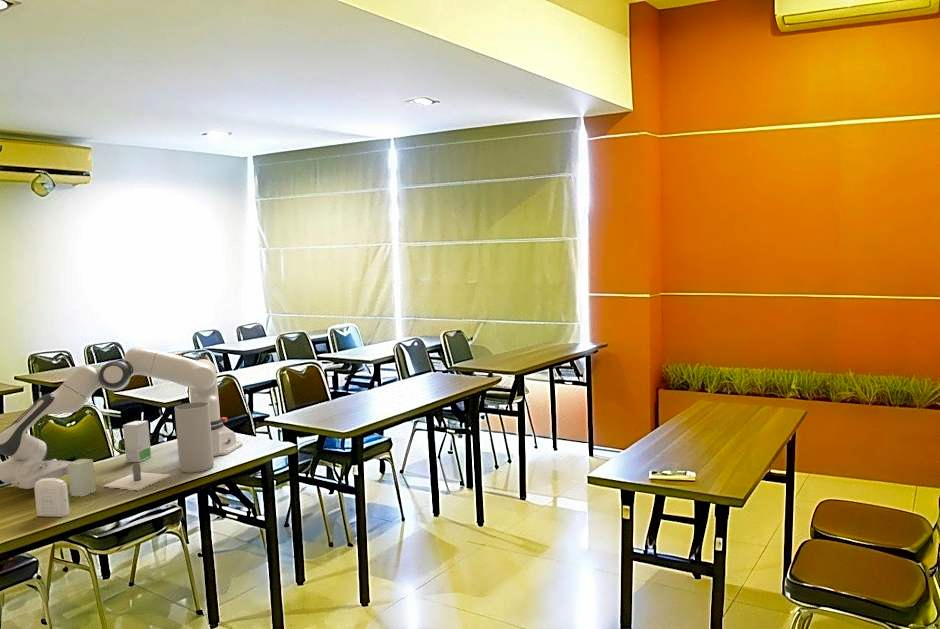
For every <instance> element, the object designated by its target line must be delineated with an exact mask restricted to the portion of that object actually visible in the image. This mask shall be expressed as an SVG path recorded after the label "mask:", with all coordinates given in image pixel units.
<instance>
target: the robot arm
mask: <svg viewBox="0 0 940 629" xmlns="http://www.w3.org/2000/svg"><path fill="white" fill-rule="evenodd" d="M133 376H144V377H148V378H149V377H150V378H154V379H158V380H163V381H168V382H171V383H174V384H177V385H180V386H184V387H188V388H189V397H190V403H193V402H207V403H209V411H210V423H211V436H212V448H213V457H217V456H223V455H228V454H230V453H233V451H235V450H237V449H238V448H239V447H241V446H243V442H242V441H237V437H236V433H235V432H234V431H233V430H231V429H229V428H228V427H227V426H225V425H224V423H227V422H228V417H224V416H223V417H221V415H220V414H221V413H220V400H219V387H218V373H217V367H216V365H215V363H213V362H212V361H211V360H209V359H206V358H202V359H197V360H194V359H191V358H187V357H184V356H181V355H178V354H175V353H171V352H167V351H162V350H157V349H154V348H153V349H152V348H146V347H132V348H129V349H128V350H127V351H126V353H125V354H124V356H123V358H120V359H116V360H112V361H109V362H107V363H105V364H103V365H102V367H101V368H95V367H94V366H91V365H88V364H84V365H80V366H79V367H77V368H76V369H75V370H74V371H73V372H71V373H70V374H69V376H68V377H67V378H66V379H65V380H64V381H63V383H61V385H60V386H59V387H58V388H57V389H56V390H53V392H51V393H45V394H44V395H41V396H40V397H39V398H37V400H36V401H34V403H32V404H31V405H30V406H29V407H28V408H27V409H26V410H25V411H24V412H22V414H21V415H20V416H19V417H18V418H17V419H16V420H14V421H13V422H12V423H11V424H10V425H8V426H7V427H5V428H4V429H3V430H1V431H0V455H3V456H6V457H9V458H7V459H6V460H4V461H1V462H0V481H2V482H3V483H5V484H9V485H10V484H11V485H13V486H15V485H16V487H17V488H20V489H26V490H28V489H32V488H34V486H35V483H36V482H37V481H39V480H42V479H46V478H56V479H60V478H62V477H65V476H67V475H68V476H69V471H68V463H70V462H71V460H69V461H68V460H57V459H56V458H51V459H50V458H49V459H46V457H47V453H48V446H47V443H46V442H45V441H43V440H41V438H40V439H39V438H37V437H36V436H33V435H30V434H29V433H27V431H29V430H30V428H32V427H33V426H34V425H35V424H36V423H37V421H39V420H40V419H41V418H42V417H44V416H45V415H48V414H53V413H55V414H56V413H57V414H72V413H75V412H76V413H77V412H78V411H79V410H81V409H82V408H83V407H84V406H85V404H86V403H87V402H88V400H90V398H91V397H92V395H93V394H94V393H95V392H96V391H97V390H98V389H105V390H109V391H113V392H117V391H121V390H123V389H126V387H127V386H129V384H130V381H131V377H133ZM45 459H46V460H45Z"/></svg>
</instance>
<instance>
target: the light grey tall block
mask: <svg viewBox="0 0 940 629" xmlns="http://www.w3.org/2000/svg"><path fill="white" fill-rule="evenodd" d="M94 469H95V468H94V459H90V458H89V459H88V458H79V459H76V460H74V461H70V463H68V471H69V474H68V479H69V488H70V496H71V497H78V496H80V498H84V497H86V495H87V496H89V495H91V494H90V493H92V494H93V492H94V493H96V492H97V490H96V489H97V488H96V479H95V478H96V477H95V470H94ZM95 491H96V492H95ZM88 494H89V495H88ZM81 496H82V497H81ZM83 496H84V497H83Z"/></svg>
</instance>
